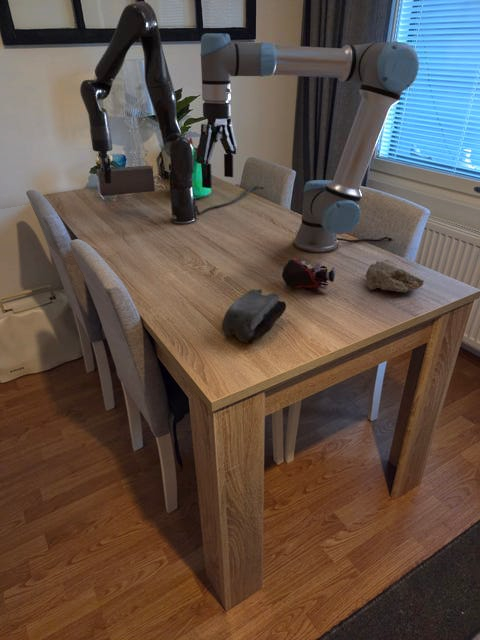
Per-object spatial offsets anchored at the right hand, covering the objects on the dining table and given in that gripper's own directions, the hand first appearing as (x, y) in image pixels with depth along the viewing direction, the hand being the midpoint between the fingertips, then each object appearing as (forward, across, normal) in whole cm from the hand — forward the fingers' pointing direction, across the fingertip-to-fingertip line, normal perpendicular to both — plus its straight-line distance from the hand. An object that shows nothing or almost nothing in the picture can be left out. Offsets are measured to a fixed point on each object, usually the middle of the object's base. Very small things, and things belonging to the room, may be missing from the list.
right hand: (218, 182), depth 130 cm
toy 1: (+28, +68, +52) cm, 90 cm away
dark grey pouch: (+28, -28, -25) cm, 47 cm away
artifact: (+28, +13, -51) cm, 60 cm away
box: (+18, +32, +61) cm, 71 cm away
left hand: (+13, +26, +66) cm, 72 cm away
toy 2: (+28, -1, -30) cm, 41 cm away
